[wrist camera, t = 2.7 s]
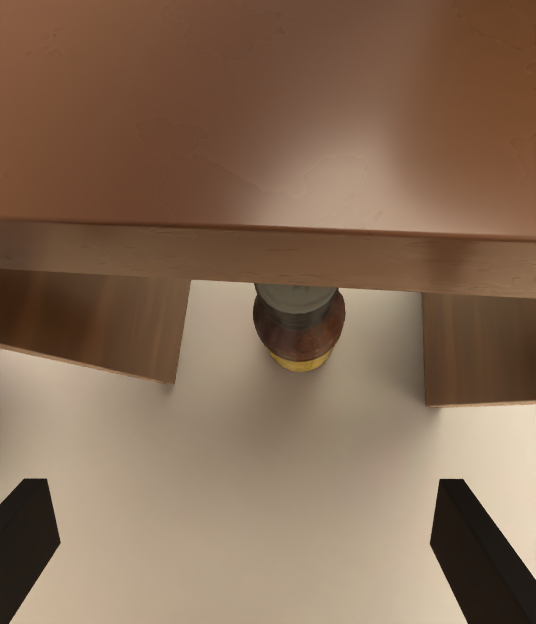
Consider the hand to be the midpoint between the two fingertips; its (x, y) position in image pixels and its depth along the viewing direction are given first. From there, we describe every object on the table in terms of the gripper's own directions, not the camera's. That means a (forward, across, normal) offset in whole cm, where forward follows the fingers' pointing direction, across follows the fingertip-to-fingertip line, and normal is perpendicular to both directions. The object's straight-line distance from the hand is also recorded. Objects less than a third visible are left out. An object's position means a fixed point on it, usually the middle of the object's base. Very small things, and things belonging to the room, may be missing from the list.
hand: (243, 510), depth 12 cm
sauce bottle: (+23, +4, -3) cm, 24 cm away
